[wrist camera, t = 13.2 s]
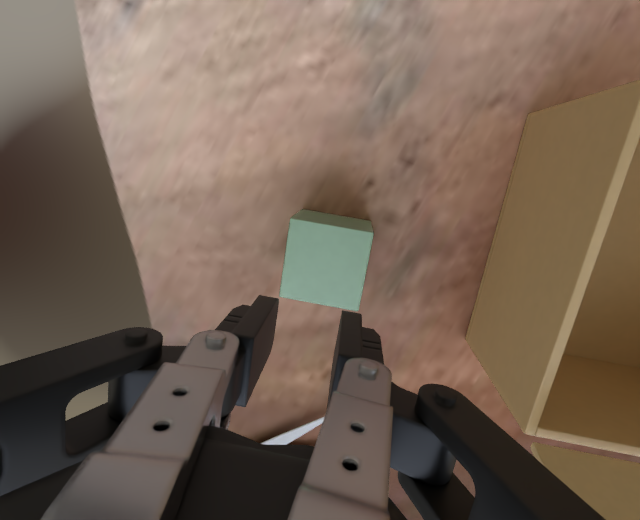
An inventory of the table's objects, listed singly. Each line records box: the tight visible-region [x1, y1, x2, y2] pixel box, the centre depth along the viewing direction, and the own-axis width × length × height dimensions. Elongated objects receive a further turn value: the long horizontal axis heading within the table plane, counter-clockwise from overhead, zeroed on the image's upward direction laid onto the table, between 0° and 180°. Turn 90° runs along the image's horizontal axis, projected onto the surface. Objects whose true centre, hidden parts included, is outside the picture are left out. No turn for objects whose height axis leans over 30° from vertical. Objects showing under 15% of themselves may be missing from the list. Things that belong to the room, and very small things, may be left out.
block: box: [279, 209, 374, 311], centre depth 26 cm, size 5×5×5 cm
